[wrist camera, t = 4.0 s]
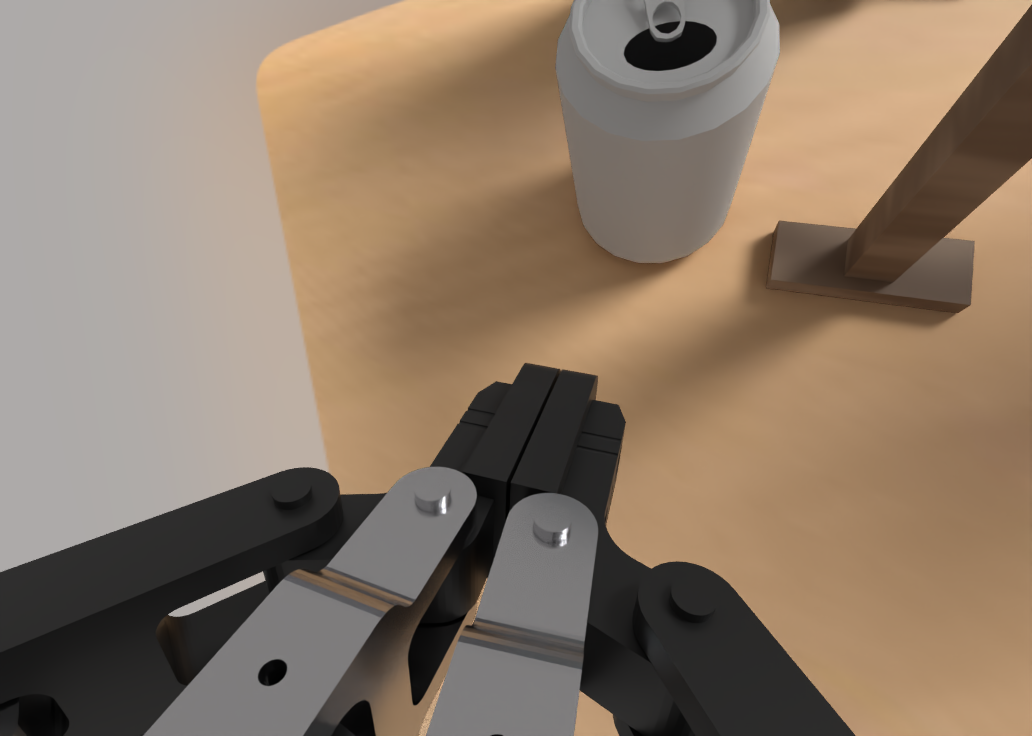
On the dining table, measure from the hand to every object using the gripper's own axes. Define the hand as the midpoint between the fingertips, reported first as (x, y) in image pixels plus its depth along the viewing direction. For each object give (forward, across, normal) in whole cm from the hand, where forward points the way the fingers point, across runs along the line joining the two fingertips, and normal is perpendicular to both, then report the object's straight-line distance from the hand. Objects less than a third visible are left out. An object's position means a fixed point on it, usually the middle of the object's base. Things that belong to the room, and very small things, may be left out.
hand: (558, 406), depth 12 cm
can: (+21, 0, +1) cm, 21 cm away
